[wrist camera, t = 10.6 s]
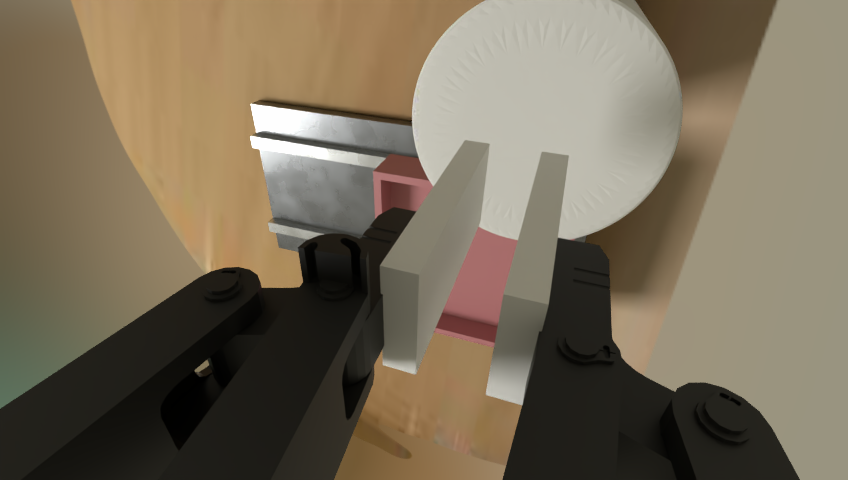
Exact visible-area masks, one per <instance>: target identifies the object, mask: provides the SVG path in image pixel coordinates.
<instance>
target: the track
mask: <svg viewBox="0 0 848 480" xmlns="http://www.w3.org/2000/svg"><path fill="white" fill-rule="evenodd" d="M251 108H252V113H253V118H254V123H255V128H256V133H255V134H253V135H252V136H250V138H251V143H252V147H253V148H257V149H260V154H261V159H262V164H263V169H264V174H265V179H266V184H267V189H268V194H269V200H270V205H271V210H272V215H273V218H272V219H271V220H270V221H269V222H268V225H269V230H270V231H271V232H275V233H276V235H277V240H278V245H279V248H284V249H288V250H292V251H297V252H298V247H299V246H300V245H301V244H303V243H304V242H305V241H306V240H308V239H311V238H313V237H316V236H318V235H324V234H330V233H339V234H348V235H351V236H354V237H357V238H358V239H360V238H362V235H363V234H364V232H365V231H366V230H367V229H369V227H370V225H371V224H372V223H373V221H374V220H375V204H374V182H373V171H374V170H375V169H376V168H377V167H378V166H379V165H380V164H381V163H382V162H383V161H384V160H385V159H386V158H387V157H388V156H389V155H390V154H395V155H401V156H408V157H414V158H419V157H418V154H417V150H416V146H415V142H414V136H413V127H412V121H405V120H398V119H390V118H383V117H376V116H368V115H361V114H354V113H346V112H339V111H331V110H324V109H317V108H309V107H302V106H295V105H287V104H280V103H272V102H265V101H256V102H254V103H252V104H251ZM586 236H587V235H586ZM586 236H583V237H579V238H575V240H574V241H579V242H584V243H585V240H586Z"/></svg>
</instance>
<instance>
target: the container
mask: <svg viewBox="0 0 848 480" xmlns="http://www.w3.org/2000/svg"><path fill="white" fill-rule="evenodd" d="M682 111H683V105H682V92H681V86H680V81H679V77H678V74H677V70H676V67H675V65H674V62H673V60H672V58H671V55H670V53H669V52H668V50H667V48H666V46H665V44H664V43H663V41H662V40H661V38H660V37H659V35H658V34H657V32H656V31H655V29H654V28H653V26H652V25H651V23H650V22H649V20H648V19H647V18H646V16H645V15H644V13H643V12H642V10H641V9H640V7H639V6H638V4H637V3H636V1H635V0H485V1H483V2H482V3H480V4H478V5H477V6H475V7H473V8H472V9H471V10H469V11H468V12H466V13H465V14H464V15H463V16H461V17H460V18H459V19H458V20H457V21H456V22H454V23H453V24H452V25H451V26H450V27H449V28H448V29H447V31H446V32H445V33H444V34H443V35H442V36H441V38H440V39H439V40H438V42H437V43H436V44H435V46H434V47H433V49H432V51H431V52H430V54H429V56H428V58H427V59H426V61H425V63H424V66H423V68H422V70H421V73H420V76H419V79H418V82H417V85H416V89H415V94H414V100H413V108H412V127H413V136H414V142H415V146H416V150H417V154H418V157H419V160H420V162H421V165H422V167H423V169H424V171H425V173H426V175H427V177H428V179H429V181H430V182H431V184H432V185H433V186H434V185H435V184H436V182H437V181H438V179H439V178H440V176H441V175H442V173H443V172H444V170H445V169H446V167H447V166H448V164H449V163H450V161H451V160H452V158H453V157H454V156H455V154H456V153H457V151H458V150H459V148H460V147H461V145H462V144H463V142H464V141H465V140H469V141H475V142H482V143H489V144H490V147H489V156H488V164H487V172H486V180H485V188H484V197H483V205H482V213H481V221H480V224H479V226H478V227H480V228H482V229H484V230H486V231H489V232H491V233H494V234H496V235H499V236H503V237H506V238H510V239H515V240H518V238H519V234H520V231H521V227H522V223H523V220H524V216H525V212H526V208H527V205H528V201H529V197H530V194H531V190H532V186H533V182H534V179H535V175H536V171H537V168H538V164H539V160H540V156H541V153H542V152H549V153H555V154H562V155H569V159H568V166H567V173H566V181H565V188H564V195H563V203H562V210H561V218H560V225H559V232H558V238H563V239H568V240H570V239H575V238H579V237H583V236H586V235H589V234H592V233H594V232H597V231H599V230H601V229H604V228H606V227H608V226H610V225H611V224H613V223H615V222H617V221H618V220H620V219H621V218H623V217H624V216H626V215H627V214H628V213H630V212H631V211H632V210H634V209H635V208H636V207H637V206H638V205H639V204H640V203H641V202H642V201H643V200H644V199H645V198H646V197H647V196H648V195H649V194H650V193H651V192H652V190H653V189H654V188H655V187H656V185H657V184H658V183H659V181H660V180H661V178H662V177H663V175H664V173H665V172H666V170H667V168H668V166H669V164H670V162H671V160H672V157H673V155H674V152H675V150H676V147H677V143H678V140H679V136H680V131H681V124H682Z"/></svg>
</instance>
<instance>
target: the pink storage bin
mask: <svg viewBox="0 0 848 480" xmlns="http://www.w3.org/2000/svg"><path fill="white" fill-rule="evenodd" d="M373 182H374V204H375V219H376V218H377V216H378V215H380V214H382V213H383V212H385V211H387V210H389V209H391V208H393V207H396V208H402V209H407V210H412V211H417V210H418V209H419V207H420V206H421V204H422V203H423V201H424V200H425V198H426V197H427V195H428V194H429V192H430V191H431V189H432V188H433V185H432V184H431V182H430V181H429V179H428V177H427V175H426V173H425V171H424V169H423V167H422V165H421V162H420V160H419V158H414V157H408V156H401V155H395V154H390V155H389V156H388V157H387V158H386V159H385V160H384V161H383V162H382V163H381V164H380V165H379V166H378V167H377V168H376V169H375V170H374V171H373ZM570 240H573V241H574V240H575V239H570ZM517 242H518V240H515V239H510V238H506V237H503V236H499V235H496V234H494V233H491V232H489V231H486V230H484V229H482V228H480V227H478V229H477V231H476V234H475V236H474V238H473V241H472V243H471V245H470V248H469V250H468V252H467V255H466V257H465V260H464V262H463V264H462V267H461V269H460V271H459V274H458V276H457V278H456V281H455V283H454V286H453V288H452V290H451V293H450V295H449V297H448V300H447V302H446V305H445V307H444V309H443V312H442V314H441V316H440V319H439V321H438V323H437V326H436V328H435V331H434V332H435V333H439V334H443V335H447V336H451V337H455V338H459V339H462V340H466V341H470V342H474V343H478V344H482V345H486V346H490V347H494V345H495V339H496V333H497V328H498V322H499V316H500V311H501V305H502V299H503V294H504V290H505V286H506V283H507V279H508V275H509V271H510V268H511V264H512V260H513V257H514V253H515V249H516V245H517Z"/></svg>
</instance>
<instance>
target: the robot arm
mask: <svg viewBox="0 0 848 480" xmlns="http://www.w3.org/2000/svg"><path fill="white" fill-rule="evenodd" d="M489 147H490V144H489V143H482V142H475V141H469V140H465V141H464V142H463V144H462V145H461V147H460V148H459V150H458V151H457V153H456V154H455V156H454V157H453V158H452V160H451V161H450V163H449V164H448V166H447V167H446V169H445V170H444V172H443V173H442V175H441V176H440V178H439V179H438V181H437V182H436V184H435V185H434V186H433V188H432V189H431V191H430V192H429V194H428V195H427V197H426V198H425V200H424V201H423V203H422V204H421V206H420V207H419V209H418V210H417V211H412V210H407V209H402V208H396V207H393V208H391V209H389V210H387V211H385V212H383V213H382V214H380V215H378V216H377V218H376V219H375V220H374V221H373V223H372V224H371V225H370V227H369V229H367V230H366V231H365V232H364V234H363V235H362V238H360V239H358V238H357V237H354V236H351V235H348V234H339V233H330V234H324V235H318V236H316V237H313V238H311V239H308V240H306V241H305V242H304V243H303V244H301V245H300V246H299V247H298V252H299V258H300V264H301V271H302V277H303V283H302V285H301V286H300V287H297V288H261V283H260V280H259V278H258V275H257V274H255V273H254V272H252V271H251V270H249V269H244V268H240V267H232V268H223V269H219V270H215V271H211V272H209V273H207V274H205V275H203V276H201V277H199V278H198V279H196V280H195V281H193V282H192V283H190V284H189V285H187V286H186V287H184V288H183V289H181V290H180V291H178V292H177V293H175V294H173V295H172V296H170V297H169V298H167V299H166V300H164V301H163V302H161V303H160V304H158V305H157V306H155V307H154V308H153V309H151V310H149V311H148V312H146V313H145V314H143V315H142V316H140V317H139V318H137V319H136V320H134V321H133V322H131V323H130V324H128V325H127V326H125V327H124V328H122V329H120V330H119V331H117V332H116V333H115V334H113V335H111V336H110V337H108V338H107V339H105V340H104V341H102V342H101V343H99V344H98V345H96V346H95V347H93V348H92V349H90V350H89V351H87V352H86V353H84V354H83V355H81V356H80V357H78V358H77V359H75V360H74V361H72V362H71V363H69V364H67V365H66V366H64V367H63V368H61V369H60V370H58V371H57V372H55V373H54V374H52V375H51V376H49V377H48V378H46V379H45V380H43V381H42V382H40V383H39V384H37V385H36V386H34V387H33V388H31V389H30V390H28V391H27V392H25V393H24V394H22V395H21V396H19V397H18V398H16V399H14V400H13V401H11V402H10V403H8V404H7V405H5V406H4V407H2V408H1V409H0V480H334V478H335V475H336V473H337V471H338V468H339V466H340V463H341V461H342V458H343V456H344V454H345V451H346V449H347V446H348V443H349V441H350V439H351V436H352V434H353V431H354V429H355V427H356V424H357V422H358V419H359V417H360V414H361V412H362V409H363V407H364V404H365V402H366V400H367V397H368V395H369V392H370V390H371V387H372V385H373V380H374V364H375V362H376V360H377V358H378V356H379V354H380V352H381V350H382V351H383V365H385V366H388V367H391V368H395V369H398V370H402V371H405V372H409V373H412V374H416V373H417V371H418V368H419V366H420V364H421V361H422V359H423V357H424V354H425V352H426V349H427V347H428V345H429V342H430V340H431V338H432V335H433V333H434V331H435V328H436V326H437V323H438V321H439V319H440V316H441V314H442V312H443V309H444V307H445V305H446V302H447V300H448V297H449V295H450V293H451V290H452V288H453V286H454V283H455V281H456V278H457V276H458V274H459V271H460V269H461V267H462V264H463V262H464V260H465V257H466V255H467V252H468V250H469V248H470V245H471V243H472V241H473V238H474V236H475V234H476V231H477V229H478V226H479V224H480V221H481V213H482V205H483V197H484V188H485V180H486V172H487V164H488V156H489ZM568 159H569V155H562V154H555V153H549V152H542V153H541V156H540V160H539V164H538V168H537V171H536V175H535V179H534V182H533V186H532V190H531V194H530V197H529V201H528V205H527V208H526V212H525V216H524V220H523V223H522V227H521V231H520V234H519V238H518V242H517V245H516V249H515V253H514V257H513V260H512V264H511V268H510V271H509V275H508V279H507V283H506V286H505V290H504V294H503V299H502V305H501V311H500V316H499V322H498V328H497V333H496V339H495V345H494V350H493V356H492V362H491V367H490V373H489V379H488V385H487V390H486V395H488V396H492V397H495V398H499V399H502V400H506V401H509V402H513V403H516V404H520V405H522V409H521V412H520V416H519V420H518V424H517V427H516V431H515V435H514V439H513V442H512V446H511V450H510V454H509V457H508V461H507V465H506V469H505V472H504V476H503V480H800V479H799V477H798V475H797V474H796V472H795V470H794V468H793V466H792V464H791V462H790V461H789V459H788V457H787V455H786V453H785V452H784V450H783V448H782V446H781V444H780V442H779V440H778V439H777V437H776V435H775V433H774V432H773V429H772V428H771V426H770V425H769V424H768V422H767V421H766V420H765V418H764V417H763V416H762V414H761V413H760V412H759V411H758V410H757V409H756V408H754V407H753V406H752V405H751V404H750V403H748V402H747V401H746V400H745V399H744V398H742V397H740V396H738V395H736V394H734V393H733V392H731V391H729V390H727V389H725V388H722V387H719V386H716V385H712V384H708V383H688V384H686V385H683V386H681V387H679V388H677V390H676V392H674V391H672V390H670V389H668V388H666V387H664V386H662V385H660V384H658V383H656V382H654V381H652V380H650V379H648V378H646V377H645V376H643V375H642V374H640V373H638V372H637V371H635V370H634V369H633V368H632V367H631V366H629V365H628V364H627V363H626V362H625V361H624V360H623V359H622V357H621V353H620V350H619V348H618V347H617V346H616V344H615V343H614V341H613V340H612V328H611V301H610V290H609V289H610V278H609V275H610V273H609V259H608V258H607V256H606V255H605V253H604V252H603V250H602V249H601V247H600V246H599V245H594V244H589V243H584V242H579V241H573V240H568V239H563V238H558V232H559V225H560V218H561V210H562V203H563V195H564V188H565V181H566V173H567V166H568ZM206 360H208V362H209V366H208V367H207V368H205V369H203V370H202V371H200V372H195V371H194V370H195V369H196V368H197V367H199V366H200V365H201V364H202V363H203V362H204V361H206Z"/></svg>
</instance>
